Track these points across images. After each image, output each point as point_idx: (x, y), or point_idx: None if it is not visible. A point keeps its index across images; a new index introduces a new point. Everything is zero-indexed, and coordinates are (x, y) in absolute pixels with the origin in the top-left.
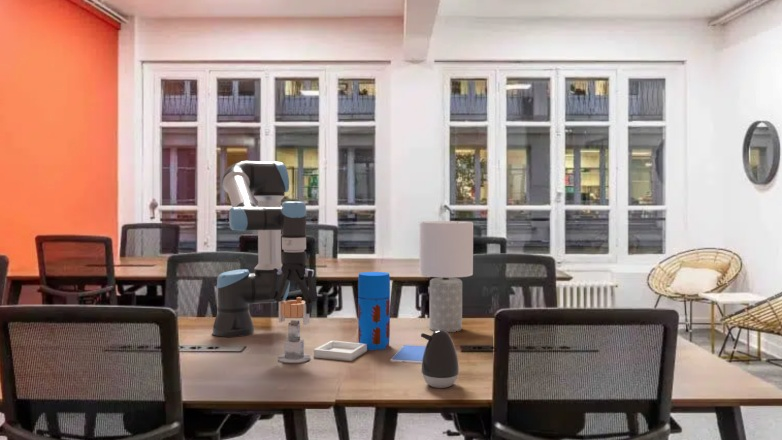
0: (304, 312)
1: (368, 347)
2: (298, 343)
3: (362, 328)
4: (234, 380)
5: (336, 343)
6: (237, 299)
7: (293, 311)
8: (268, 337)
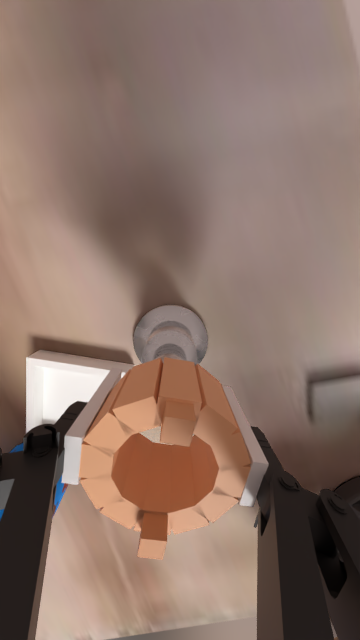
0: (95, 399)
1: None
2: (150, 339)
3: None
4: (253, 135)
5: None
6: None
7: (144, 376)
8: None
